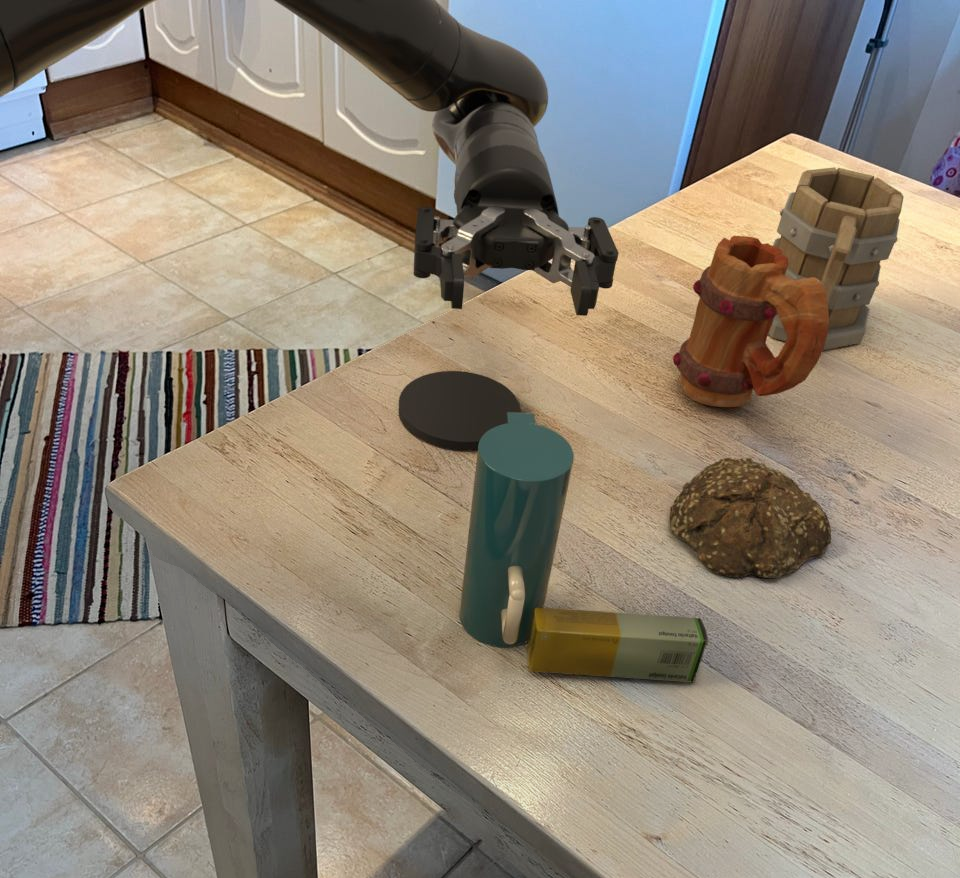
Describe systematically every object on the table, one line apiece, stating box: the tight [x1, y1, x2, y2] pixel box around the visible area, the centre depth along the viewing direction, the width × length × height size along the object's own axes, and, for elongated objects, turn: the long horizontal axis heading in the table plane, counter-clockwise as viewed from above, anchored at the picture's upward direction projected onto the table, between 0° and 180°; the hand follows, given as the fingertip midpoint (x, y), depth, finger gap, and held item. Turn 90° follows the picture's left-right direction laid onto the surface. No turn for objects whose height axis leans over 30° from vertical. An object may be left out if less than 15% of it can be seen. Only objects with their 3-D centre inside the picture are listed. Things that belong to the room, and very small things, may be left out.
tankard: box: [768, 167, 904, 351], centre depth 99 cm, size 20×13×15 cm, turn 160°
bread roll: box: [668, 457, 832, 579], centre depth 79 cm, size 13×12×5 cm
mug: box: [672, 235, 829, 408], centre depth 88 cm, size 15×8×15 cm, turn 27°
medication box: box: [524, 607, 709, 684], centre depth 68 cm, size 12×3×4 cm, turn 91°
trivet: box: [397, 370, 522, 452], centre depth 88 cm, size 11×11×1 cm
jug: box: [459, 412, 575, 648], centre depth 66 cm, size 10×6×15 cm, turn 2°
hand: (522, 299), depth 65 cm, fingers open, 8 cm apart
